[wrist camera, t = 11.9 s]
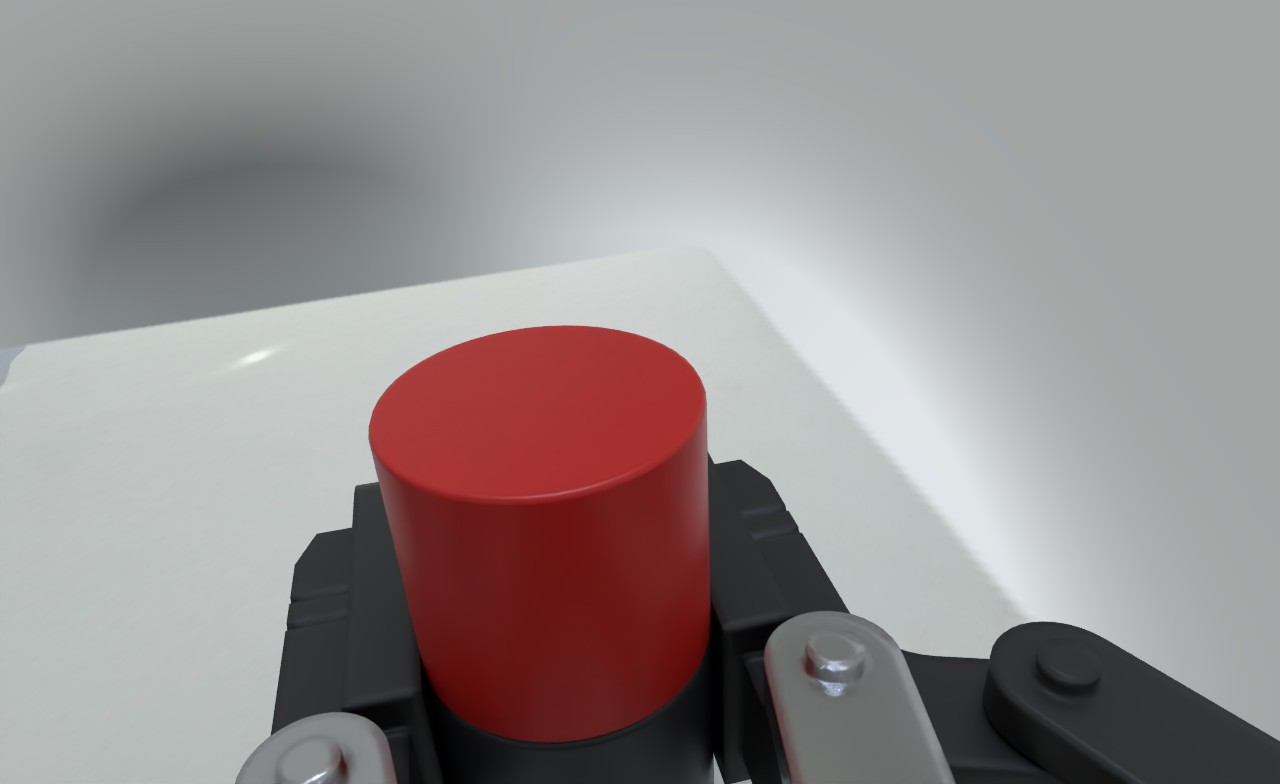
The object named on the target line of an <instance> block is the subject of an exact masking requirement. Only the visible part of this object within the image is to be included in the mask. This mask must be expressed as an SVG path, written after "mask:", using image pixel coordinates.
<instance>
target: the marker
mask: <svg viewBox="0 0 1280 784" xmlns="http://www.w3.org/2000/svg"><path fill="white" fill-rule="evenodd" d="M369 443H370V447H371V451H372V455H373V459H374V464H375V468H376V472H377V476H378V480H379V485H380V489H381V493H382V497H383V501H384V505H385V510H386V514H387V518H388V522H389V526H390V531H391V535H392V539H393V543H394V547H395V552H396V556H397V560H398V564H399V568H400V572H401V577H402V581H403V585H404V589H405V593H406V598H407V602H408V606H409V610H410V614H411V618H412V623H413V627H414V631H415V635H416V639H417V643H418V647H419V651H420V655H421V660H422V664H423V668H424V672H425V675H426V680H427V685H428V689H429V693H430V697H431V701H432V706H433V710H434V714H435V718H436V722H437V727H438V731H439V735H440V739H441V743H442V747H443V752H444V756H445V760H446V764H447V768H448V773H449V777H450V781H451V784H714V760H713V708H712V656H711V604H710V553H709V501H708V449H707V402H706V392H705V389H704V386H703V383H702V381H701V379H700V377H699V376H698V374H697V372H696V371H695V369H694V368H693V367H692V366H691V365H690V364H689V363H688V361H687V360H686V359H684V358H683V357H682V356H680V355H679V354H678V353H676V352H675V351H674V350H672V349H670V348H668V347H666V346H665V345H663V344H661V343H658V342H656V341H654V340H651V339H649V338H646V337H643V336H639V335H636V334H633V333H628V332H624V331H620V330H614V329H608V328H601V327H589V326H543V327H533V328H524V329H517V330H511V331H505V332H501V333H496V334H492V335H487V336H484V337H480V338H477V339H473V340H470V341H467V342H464V343H461V344H458V345H456V346H453V347H451V348H448V349H446V350H444V351H441V352H439V353H437V354H435V355H433V356H431V357H429V358H427V359H425V360H423V361H422V362H420V363H418V364H417V365H415V366H414V367H412V368H411V369H409V370H408V371H406V372H405V373H404V374H403V375H401V376H400V377H399V378H397V379H396V380H395V381H394V382H393V383H392V384H391V385H390V386H389V387H388V388H387V389H386V391H385V392H384V393H383V395H382V396H381V397H380V399H379V400H378V402H377V404H376V406H375V408H374V410H373V413H372V417H371V420H370V424H369Z"/></svg>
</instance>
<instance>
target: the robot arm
mask: <svg viewBox="0 0 1280 784" xmlns="http://www.w3.org/2000/svg"><path fill="white" fill-rule="evenodd" d="M708 501H709V553H710V604H711V656H712V708H713V753H714V756H715V758H716V761H717V764H718V767H719V770H720V772H721V775H722V778H723V781H724V784H732V783H736V782H740V781H745V780H749V779H751V781H752V784H1280V741H1278V740H1277V739H1275V738H1273V737H1271V736H1270V735H1268V734H1266V733H1265V732H1263V731H1261V730H1260V729H1258V728H1256V727H1254V726H1253V725H1251V724H1249V723H1247V722H1246V721H1244V720H1242V719H1241V718H1239V717H1237V716H1236V715H1234V714H1232V713H1230V712H1229V711H1227V710H1225V709H1224V708H1222V707H1220V706H1218V705H1217V704H1215V703H1214V702H1212V701H1210V700H1208V699H1207V698H1205V697H1203V696H1202V695H1200V694H1198V693H1196V692H1195V691H1193V690H1191V689H1190V688H1188V687H1186V686H1185V685H1183V684H1181V683H1179V682H1178V681H1176V680H1174V679H1173V678H1171V677H1169V676H1167V675H1166V674H1164V673H1162V672H1161V671H1159V670H1157V669H1156V668H1154V667H1152V666H1150V665H1149V664H1147V663H1145V662H1144V661H1142V660H1140V659H1138V658H1137V657H1135V656H1133V655H1132V654H1130V653H1128V652H1126V651H1125V650H1123V649H1121V648H1120V647H1118V646H1116V645H1115V644H1113V643H1111V642H1109V641H1108V640H1106V639H1104V638H1102V637H1100V636H1098V635H1096V634H1094V633H1092V632H1090V631H1087V630H1085V629H1082V628H1079V627H1075V626H1072V625H1068V624H1063V623H1056V622H1031V623H1026V624H1021V625H1018V626H1016V627H1013V628H1011V629H1009V630H1008V631H1006V632H1004V633H1003V634H1002V635H1001V636H1000V637H999V638H998V639H997V640H996V642H995V644H994V645H993V647H992V651H991V655H990V659H978V658H959V657H941V656H929V655H921V654H916V653H912V652H908V651H905V650H901V649H900V648H899V646H898V645H897V643H896V642H895V641H894V639H893V638H892V637H891V636H890V635H889V634H888V633H886V632H885V631H884V630H883V629H882V628H880V627H879V626H877V625H876V624H874V623H872V622H870V621H868V620H866V619H864V618H861V617H858V616H855V615H852V614H850V612H849V611H848V609H847V607H846V606H845V604H844V602H843V601H842V599H841V597H840V596H839V594H838V592H837V591H836V589H835V587H834V586H833V584H832V582H831V581H830V579H829V577H828V576H827V574H826V572H825V571H824V569H823V567H822V566H821V564H820V562H819V561H818V559H817V557H816V556H815V554H814V552H813V551H812V549H811V547H810V546H809V544H808V542H807V541H806V539H805V537H804V536H803V534H802V533H799V530H798V526H797V524H796V522H795V521H794V519H793V517H792V516H791V514H790V512H789V511H786V507H785V504H784V502H783V501H782V499H781V497H780V496H779V494H778V492H777V491H776V489H775V487H774V486H773V484H772V482H771V481H770V479H768V478H767V477H765V476H764V475H762V474H761V473H760V472H758V471H757V470H755V469H754V468H752V467H751V466H749V465H748V464H746V463H745V462H744V461H742V460H736V461H730V462H724V463H719V464H714V462H713V461H712V459H711V457H710V455H709V453H708ZM290 598H291V604H289V610H288V618H287V631H286V632H285V639H284V646H283V653H282V660H281V667H280V674H279V681H278V688H277V696H276V703H275V710H274V717H273V724H272V731H271V736H270V737H269V738H268V739H266V740H265V741H264V742H263V743H262V744H261V745H259V746H258V747H257V749H256V750H255V751H254V752H253V753H252V754H251V755H250V756H249V758H248V759H247V761H246V762H245V764H244V765H243V766H242V768H241V770H240V772H239V774H238V776H237V778H236V782H235V784H451V781H450V777H449V773H448V768H447V764H446V760H445V756H444V752H443V747H442V743H441V739H440V735H439V731H438V727H437V722H436V718H435V714H434V710H433V706H432V701H431V697H430V693H429V689H428V685H427V680H426V675H425V672H424V668H423V664H422V660H421V655H420V651H419V647H418V643H417V639H416V635H415V631H414V627H413V623H412V618H411V614H410V610H409V606H408V602H407V598H406V593H405V589H404V585H403V581H402V577H401V572H400V568H399V564H398V560H397V556H396V552H395V547H394V543H393V539H392V535H391V531H390V526H389V522H388V518H387V514H386V510H385V505H384V501H383V497H382V493H381V489H380V485H379V482H375V483H369V484H363V485H357V486H356V487H355V492H354V507H353V523H352V528H347V529H342V530H336V531H331V532H325V533H319V534H316V536H315V537H314V539H313V540H312V541H311V543H310V544H309V546H308V547H307V549H306V550H305V551H304V553H303V554H302V556H301V557H300V558H299V560H298V561H297V563H296V564H295V568H294V575H293V582H292V589H291V596H290Z"/></svg>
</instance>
